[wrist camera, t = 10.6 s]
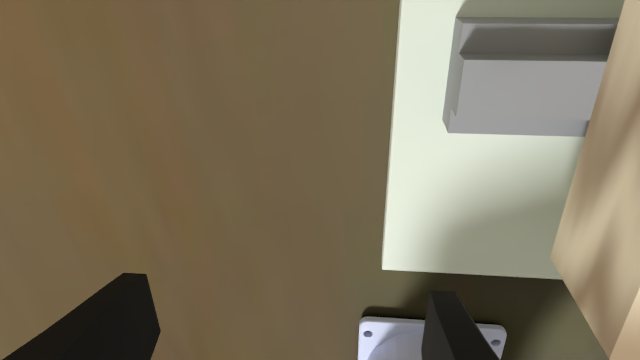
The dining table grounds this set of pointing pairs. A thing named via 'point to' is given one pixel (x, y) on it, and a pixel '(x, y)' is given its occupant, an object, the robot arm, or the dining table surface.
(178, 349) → the dining table surface
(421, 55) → the fulcrum stand
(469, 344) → the robot arm
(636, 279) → the beech rod
